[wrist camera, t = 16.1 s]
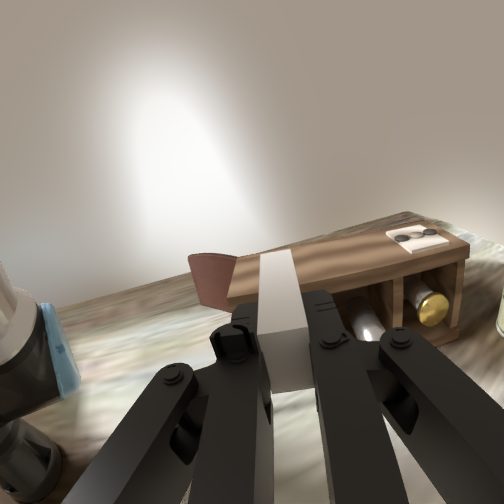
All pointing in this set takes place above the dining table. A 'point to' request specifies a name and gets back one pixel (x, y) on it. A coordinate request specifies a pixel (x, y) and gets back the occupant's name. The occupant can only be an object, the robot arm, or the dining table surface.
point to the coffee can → (501, 317)
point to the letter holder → (212, 278)
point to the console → (374, 274)
